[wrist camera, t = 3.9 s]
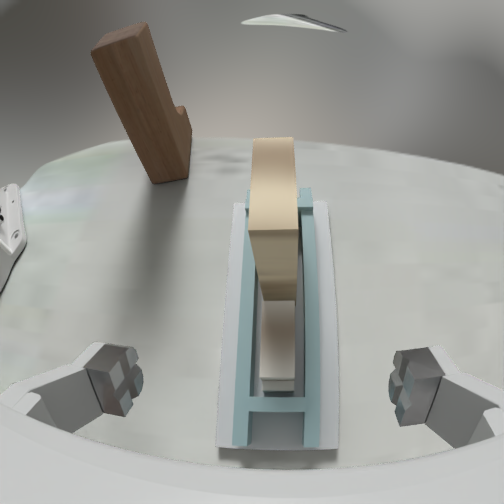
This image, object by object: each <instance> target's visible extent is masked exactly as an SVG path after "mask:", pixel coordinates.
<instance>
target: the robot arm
mask: <svg viewBox="0 0 504 504" xmlns="http://www.w3.org/2000/svg"><path fill="white" fill-rule="evenodd" d="M26 241H27V239H26V233H25V227H24V220H23V213H22V206H21V198H20V189H19V186H18V185H17V184H15V183H14V184H9V185H7V186H5V187H3V188H0V292H1V290H2V288H3V286H4V284H5V282H6V280H7V278H8V276H9V273H10V270H11V268H12V266H13V264H14V262H15V260H16V259H17V257H18V256H19V254H20V253H21V252H22V250H23V248H24V247H25V245H26ZM137 360H138V355H137V352H136V350H135V349H134V348H133V347H129V346H122V345H115V344H109V343H108V344H107V343H102V342H93V343H92V344H91V345H90V346H89V347H88V348H87V349H86V350H85V351H84V352H83V353H82V354H81V355H80V356H79V357H78V358H77V359H76V360H75V361H74V362H73V363H72V364H71V365H68V364H66V365H63V366H61V367H58V368H55V369H53V370H50V371H47V372H44V373H41V374H39V375H36V376H33V377H30V378H27V379H24V380H22V381H19V382H16V383H13V384H12V385H11V386H10V387H8V388H7V389H6V390H5V391H4V392H3V393H2V394H1V395H0V504H504V390H503V389H500V388H498V387H496V386H494V385H492V384H490V383H487V382H485V381H483V380H481V379H479V378H477V377H474V376H472V375H470V374H468V373H466V372H464V373H461V372H460V370H459V369H458V368H457V366H456V365H455V363H454V362H453V361H452V359H451V358H450V356H449V355H448V354H447V352H446V351H445V349H444V348H443V347H442V346H440V345H437V346H431V347H426V348H418V349H410V350H402V351H396V353H395V355H394V360H393V364H394V366H395V368H396V369H395V370H394V371H393V372H392V373H391V374H390V379H389V397H390V400H391V402H392V403H393V404H395V405H396V409H395V414H396V417H397V420H398V423H399V426H400V427H401V426H409V425H416V424H423V423H425V425H427V426H428V427H429V428H430V429H431V430H433V431H434V432H435V433H436V434H437V435H439V436H440V437H441V438H442V439H444V440H445V441H446V442H447V443H449V444H450V445H451V446H452V447H453V448H455V449H452V450H448V451H444V452H440V453H435V454H431V455H427V456H422V457H417V458H412V459H407V460H401V461H395V462H389V463H382V464H374V465H366V466H357V467H345V468H331V469H307V470H276V469H251V468H236V467H225V466H215V465H207V464H199V463H192V462H185V461H179V460H173V459H168V458H162V457H157V456H152V455H148V454H143V453H139V452H134V451H130V450H126V449H122V448H118V447H115V446H111V445H108V444H104V443H101V442H97V441H94V440H91V439H88V438H84V437H81V436H78V435H75V434H73V432H75V431H76V430H78V429H80V428H81V427H83V426H85V425H86V424H88V423H89V422H91V421H93V420H94V419H96V418H97V417H99V416H101V415H102V414H103V413H107V414H112V415H117V416H122V417H126V415H127V413H128V412H129V410H130V409H131V407H132V405H133V402H132V399H133V398H135V397H137V396H139V394H140V392H141V390H142V386H143V374H142V370H141V369H140V367H139V366H138V365H137V364H136V362H137Z"/></svg>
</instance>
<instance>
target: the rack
mask: <svg viewBox="0 0 504 504" xmlns="http://www.w3.org/2000/svg"><path fill="white" fill-rule="evenodd" d="M249 203H250V190H247V199H246V202H245V203H234V207H233V218H232V229H231V240H230V251H229V262H228V274H227V286H226V298H225V311H224V323H223V337H222V350H221V365H220V379H219V395H218V411H217V428H216V446H215V447H223V448H236V449H252V450H325V449H338V436H339V364H338V333H337V313H336V296H335V282H334V269H333V257H332V246H331V236H330V226H329V217H328V208H327V201H313V198H312V193H311V188H300V198H297V208H298V265H297V292H296V306H295V379H294V393H267V392H263V391H262V380H261V379H260V377H259V375H260V348H261V320H262V301H263V296H262V292H261V287H260V283H259V278H258V274H257V269H256V265H255V260H254V256H253V251H252V247H251V242H250V238H249V233H248V220H249Z"/></svg>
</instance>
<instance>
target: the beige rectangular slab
mask: <svg viewBox="0 0 504 504" xmlns="http://www.w3.org/2000/svg"><path fill="white" fill-rule="evenodd" d="M248 233H249V238H250V242H251V247H252V251H253V256H254V260H255V265H256V269H257V274H258V278H259V283H260V287H261V292H262V296H263V301H295V306H296V292H297V265H298V208H297V190H296V173H295V157H294V143H293V137H277V138H254V139H253V154H252V170H251V187H250V203H249V220H248Z"/></svg>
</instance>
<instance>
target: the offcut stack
mask: <svg viewBox="0 0 504 504" xmlns="http://www.w3.org/2000/svg"><path fill="white" fill-rule="evenodd" d="M259 377H260V379H261V380H262V391H263V392H267V393H294V379H295V301H262V320H261V348H260V375H259Z"/></svg>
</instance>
